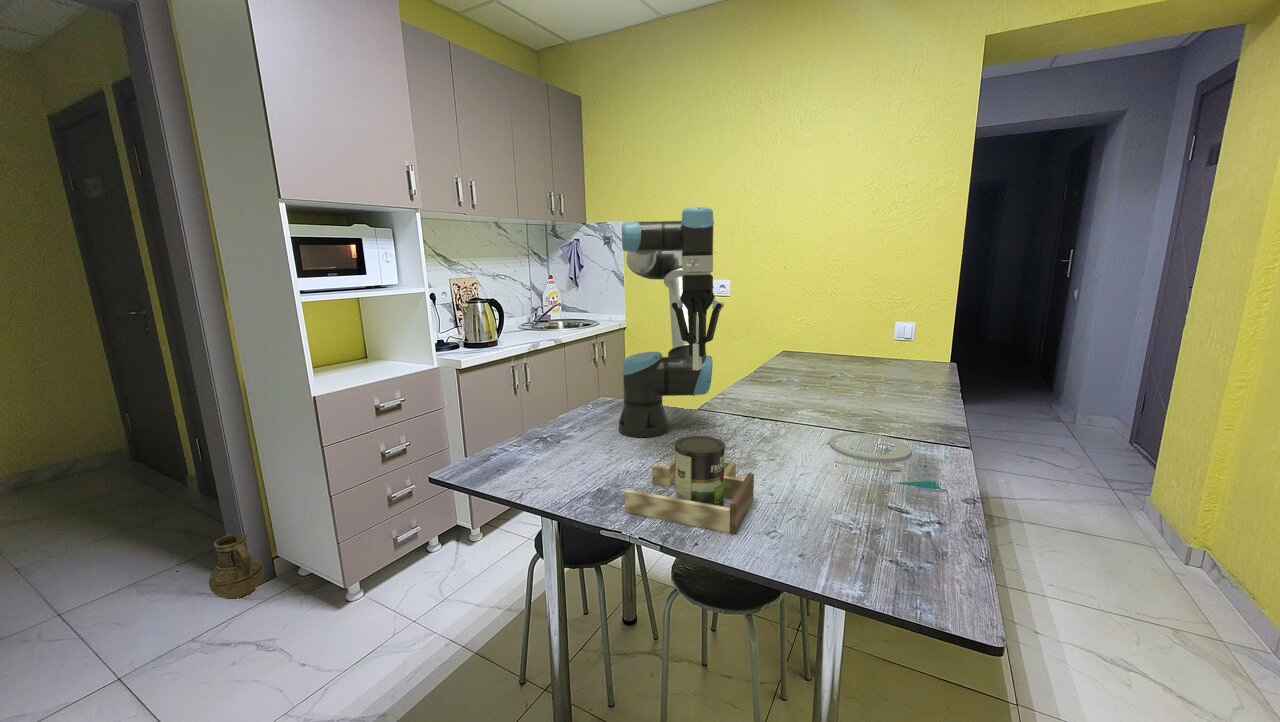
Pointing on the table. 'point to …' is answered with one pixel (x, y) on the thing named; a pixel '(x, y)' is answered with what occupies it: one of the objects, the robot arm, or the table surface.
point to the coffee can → (700, 469)
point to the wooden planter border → (692, 510)
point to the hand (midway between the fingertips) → (697, 369)
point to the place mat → (883, 458)
